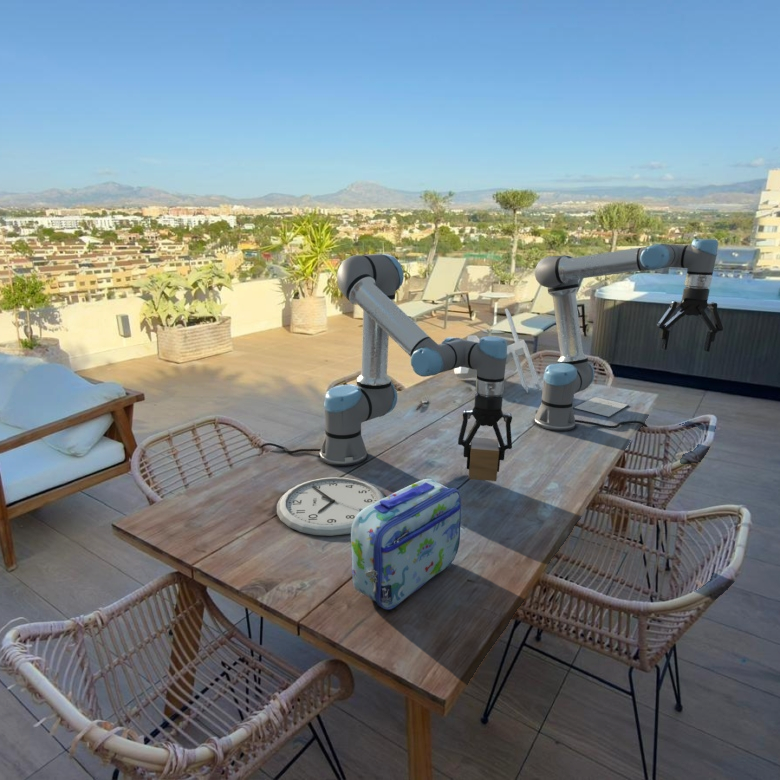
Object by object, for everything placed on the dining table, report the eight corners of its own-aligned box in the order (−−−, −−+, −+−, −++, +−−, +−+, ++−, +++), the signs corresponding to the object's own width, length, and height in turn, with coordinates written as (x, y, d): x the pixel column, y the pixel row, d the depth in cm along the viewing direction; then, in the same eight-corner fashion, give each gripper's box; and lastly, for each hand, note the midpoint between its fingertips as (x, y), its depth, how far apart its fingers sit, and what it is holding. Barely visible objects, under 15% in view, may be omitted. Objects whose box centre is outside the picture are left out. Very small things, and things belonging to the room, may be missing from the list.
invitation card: (608, 416, 214) (573, 407, 224) (608, 416, 214) (573, 408, 224) (628, 404, 229) (594, 396, 238) (628, 405, 229) (594, 397, 238)
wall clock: (392, 527, 129) (268, 531, 127) (391, 533, 130) (269, 537, 127) (383, 473, 158) (282, 475, 155) (383, 478, 158) (282, 480, 156)
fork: (413, 410, 217) (413, 405, 217) (424, 399, 232) (424, 394, 231) (419, 411, 217) (419, 406, 216) (429, 399, 231) (430, 395, 230)
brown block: (468, 466, 156) (471, 436, 153) (495, 468, 155) (497, 439, 152) (468, 478, 148) (471, 448, 145) (496, 481, 147) (499, 450, 144)
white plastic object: (474, 421, 262) (452, 398, 237) (456, 348, 284) (434, 320, 259) (546, 397, 250) (531, 370, 225) (521, 322, 272) (505, 290, 247)
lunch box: (380, 623, 100) (381, 528, 94) (344, 596, 108) (343, 505, 101) (464, 565, 118) (470, 482, 112) (428, 545, 125) (432, 466, 119)
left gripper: (451, 395, 142) (446, 470, 149) (528, 400, 139) (520, 477, 146) (452, 386, 149) (447, 459, 156) (526, 391, 146) (517, 465, 153)
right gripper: (660, 287, 172) (649, 350, 178) (743, 289, 168) (729, 354, 175) (653, 284, 179) (643, 345, 185) (732, 287, 175) (719, 349, 182)
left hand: (482, 468), depth 151 cm, fingers closed on brown block, 8 cm apart
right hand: (685, 349), depth 180 cm, fingers open, 13 cm apart
